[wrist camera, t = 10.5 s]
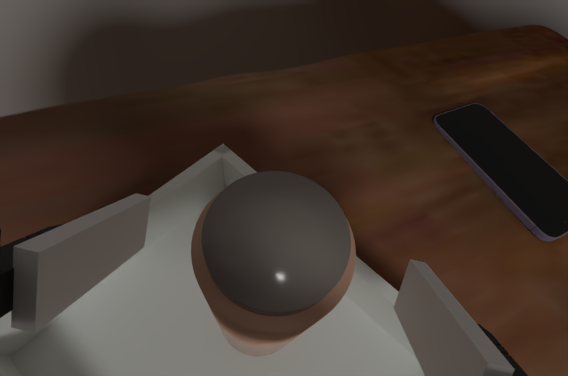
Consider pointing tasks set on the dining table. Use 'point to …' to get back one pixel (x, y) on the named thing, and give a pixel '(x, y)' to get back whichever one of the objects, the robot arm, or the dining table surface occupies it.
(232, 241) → the spice jar
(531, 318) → the dining table surface
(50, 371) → the tote
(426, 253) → the dining table surface
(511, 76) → the dining table surface
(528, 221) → the smartphone
